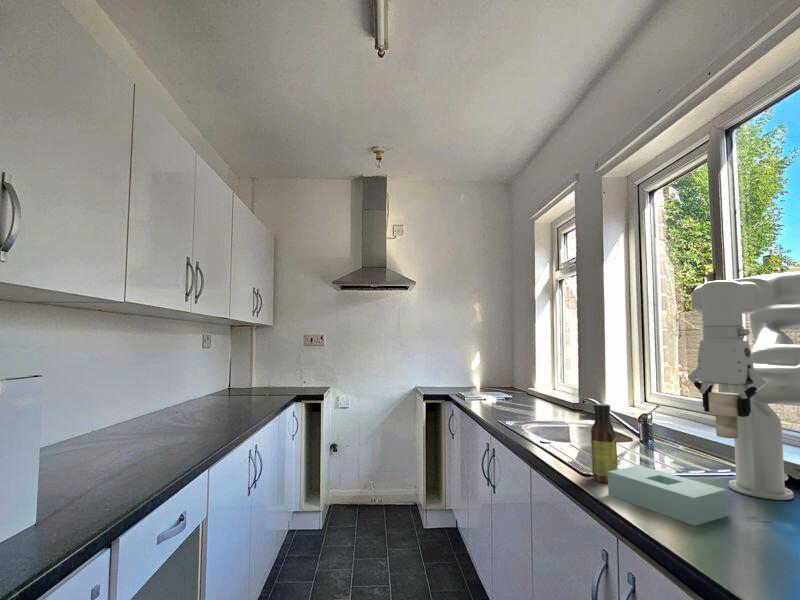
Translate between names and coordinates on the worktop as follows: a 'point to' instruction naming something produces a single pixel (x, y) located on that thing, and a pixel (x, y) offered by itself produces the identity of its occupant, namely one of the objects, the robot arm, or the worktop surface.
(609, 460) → the sauce bottle
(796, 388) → the robot arm
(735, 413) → the pin
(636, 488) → the block
